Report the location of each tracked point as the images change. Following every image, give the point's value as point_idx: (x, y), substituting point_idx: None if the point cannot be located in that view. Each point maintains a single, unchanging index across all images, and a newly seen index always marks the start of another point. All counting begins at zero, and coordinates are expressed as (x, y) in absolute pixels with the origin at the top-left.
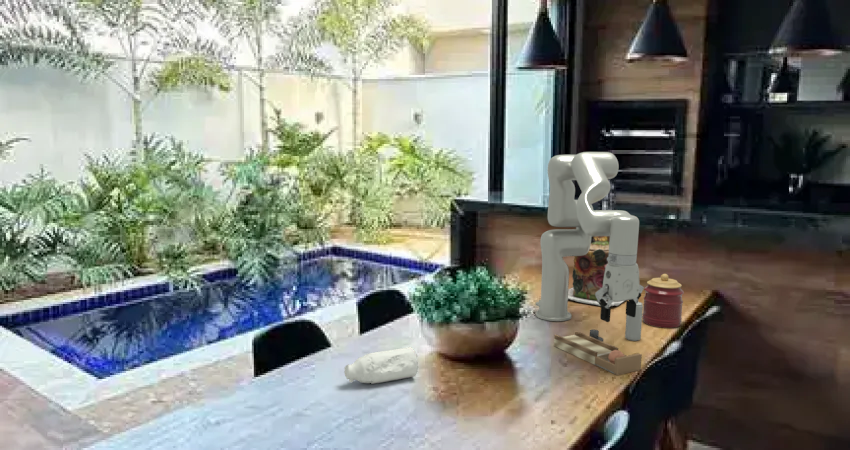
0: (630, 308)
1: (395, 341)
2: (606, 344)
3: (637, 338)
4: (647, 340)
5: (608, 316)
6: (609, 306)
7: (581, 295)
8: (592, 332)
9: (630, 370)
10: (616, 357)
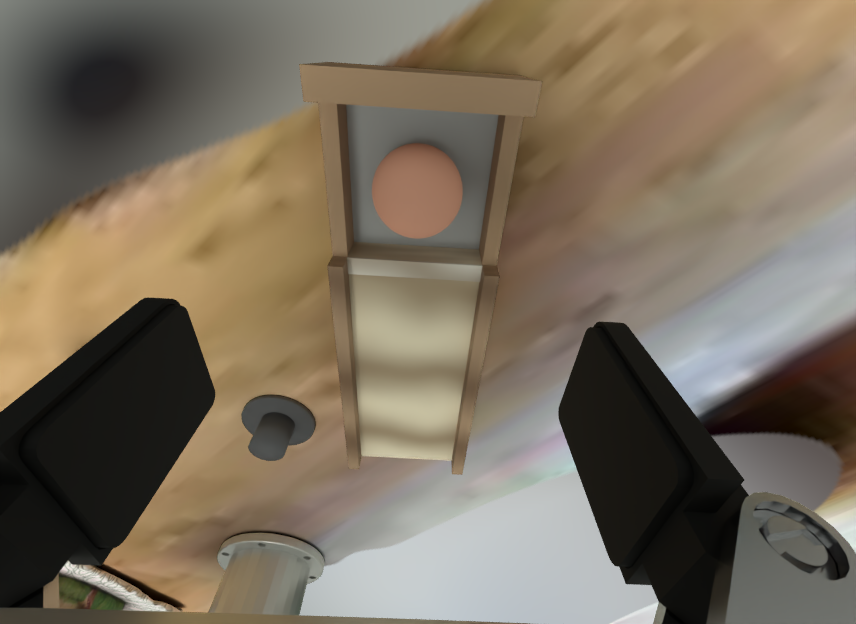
0: (138, 419)
1: None
2: (347, 328)
3: None
4: (49, 333)
5: (657, 369)
6: (740, 526)
7: (107, 605)
8: (282, 444)
9: (413, 68)
10: (451, 168)
